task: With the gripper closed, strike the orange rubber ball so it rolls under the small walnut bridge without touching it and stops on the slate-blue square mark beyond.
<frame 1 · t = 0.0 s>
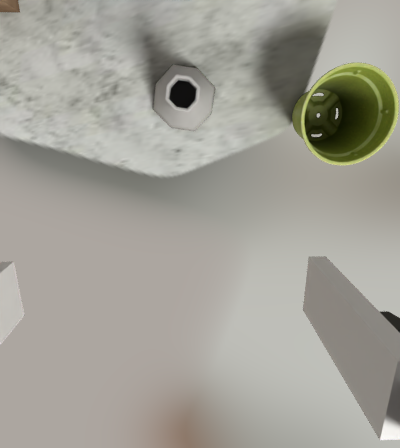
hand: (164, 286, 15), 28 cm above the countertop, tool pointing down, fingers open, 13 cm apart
plant pot: (316, 116, 40), on the countertop
flask: (184, 99, 39), on the countertop
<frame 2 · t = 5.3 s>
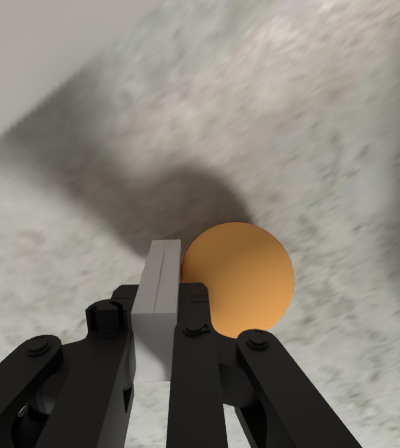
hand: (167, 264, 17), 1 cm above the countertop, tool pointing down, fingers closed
ball: (235, 278, 16), on the countertop, touching gripper
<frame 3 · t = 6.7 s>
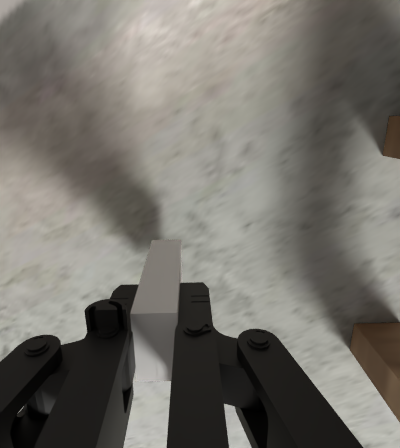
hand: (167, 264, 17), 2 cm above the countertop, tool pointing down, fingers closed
bridge: (392, 246, 19), on the countertop
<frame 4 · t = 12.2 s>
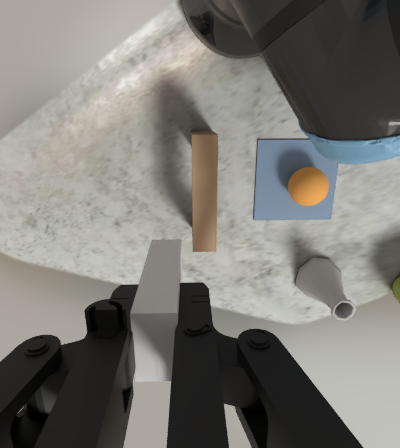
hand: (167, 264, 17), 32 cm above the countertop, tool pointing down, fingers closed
flask: (316, 276, 54), on the countertop
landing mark: (295, 181, 49), on the countertop
ball: (308, 186, 46), resting on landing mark
bridge: (201, 181, 48), on the countertop
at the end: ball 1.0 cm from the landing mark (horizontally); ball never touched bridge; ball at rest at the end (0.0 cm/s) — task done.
